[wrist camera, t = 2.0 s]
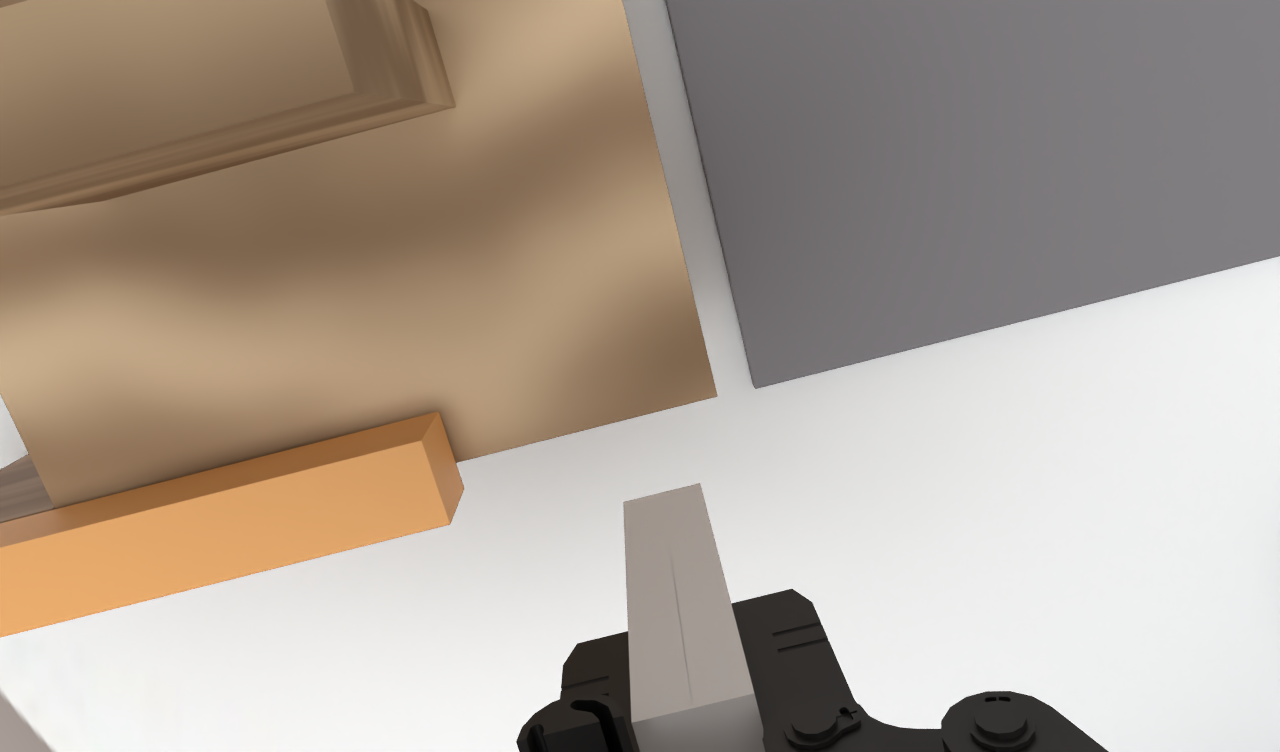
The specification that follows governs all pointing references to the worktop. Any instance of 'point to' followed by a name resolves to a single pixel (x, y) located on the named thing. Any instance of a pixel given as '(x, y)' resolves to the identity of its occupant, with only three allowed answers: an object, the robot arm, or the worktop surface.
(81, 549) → the orange rectangular block
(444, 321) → the lid
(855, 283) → the mat
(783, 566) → the worktop surface
